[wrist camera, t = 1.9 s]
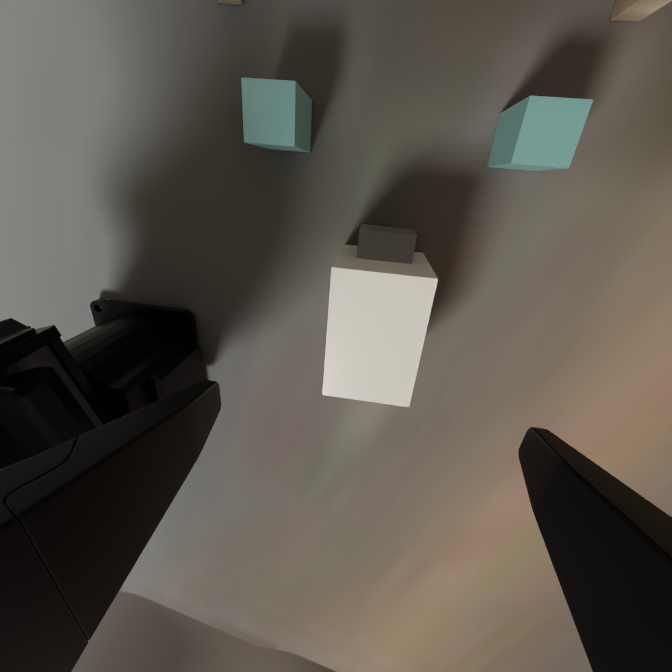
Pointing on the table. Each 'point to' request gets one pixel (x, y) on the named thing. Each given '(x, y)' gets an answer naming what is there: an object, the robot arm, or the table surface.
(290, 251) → the table surface
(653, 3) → the open wooden frame
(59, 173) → the table surface
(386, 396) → the block
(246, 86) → the teal block pair
